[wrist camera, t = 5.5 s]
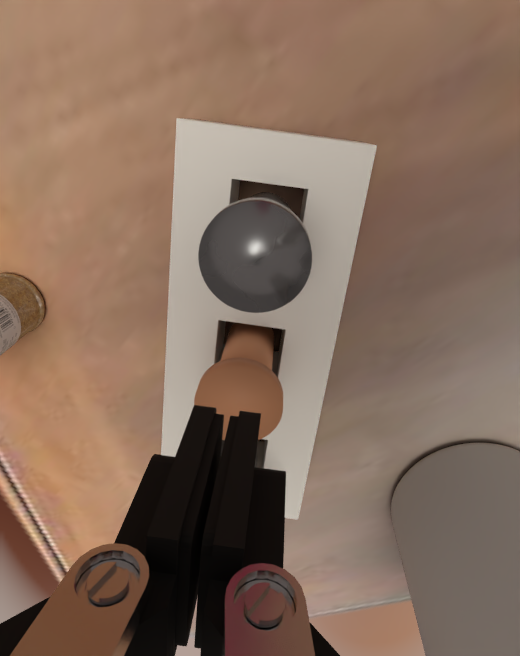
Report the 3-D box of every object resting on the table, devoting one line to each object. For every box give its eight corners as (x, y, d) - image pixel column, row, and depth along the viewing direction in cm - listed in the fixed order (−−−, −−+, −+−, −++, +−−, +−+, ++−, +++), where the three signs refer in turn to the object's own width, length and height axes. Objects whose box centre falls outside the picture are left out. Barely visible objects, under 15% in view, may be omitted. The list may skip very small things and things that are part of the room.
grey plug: (312, 184, 24) (321, 210, 17) (299, 265, 26) (302, 319, 19) (229, 173, 24) (202, 193, 17) (221, 254, 26) (194, 305, 19)
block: (362, 141, 28) (377, 145, 23) (297, 471, 38) (297, 519, 33) (195, 119, 28) (176, 118, 23) (175, 454, 38) (159, 500, 33)
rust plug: (289, 311, 29) (289, 374, 22) (280, 372, 31) (276, 448, 24) (220, 302, 29) (197, 361, 22) (215, 363, 31) (191, 436, 24)
